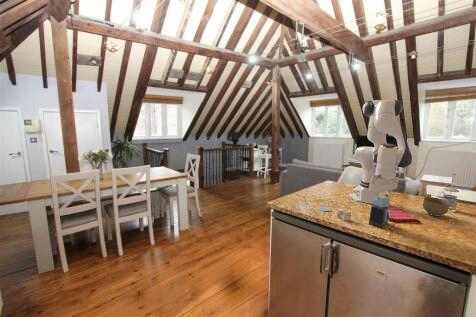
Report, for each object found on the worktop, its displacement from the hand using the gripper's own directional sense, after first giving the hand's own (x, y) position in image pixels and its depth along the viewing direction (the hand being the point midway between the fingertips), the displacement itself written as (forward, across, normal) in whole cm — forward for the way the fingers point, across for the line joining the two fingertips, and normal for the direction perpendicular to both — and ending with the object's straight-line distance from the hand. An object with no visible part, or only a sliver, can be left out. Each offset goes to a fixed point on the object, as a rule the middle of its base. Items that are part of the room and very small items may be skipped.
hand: (381, 198), depth 129 cm
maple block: (+14, -13, +13) cm, 23 cm away
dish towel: (+16, +22, +4) cm, 27 cm away
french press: (+16, +67, -4) cm, 69 cm away
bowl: (+15, +46, -6) cm, 49 cm away
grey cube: (+4, 0, 0) cm, 4 cm away
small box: (+15, -1, 0) cm, 15 cm away
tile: (+14, -12, +27) cm, 33 cm away
